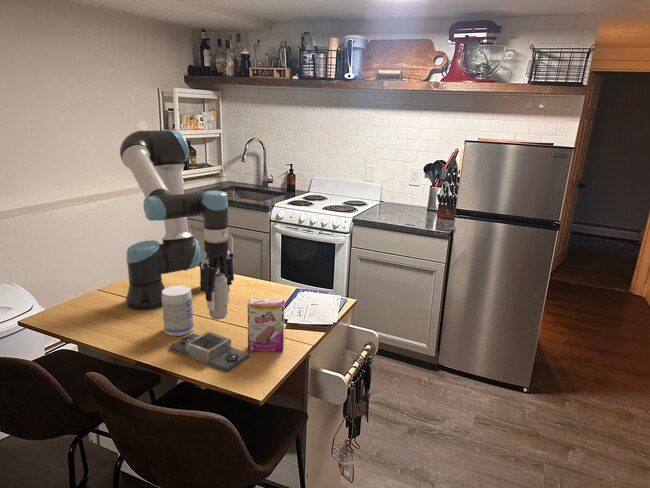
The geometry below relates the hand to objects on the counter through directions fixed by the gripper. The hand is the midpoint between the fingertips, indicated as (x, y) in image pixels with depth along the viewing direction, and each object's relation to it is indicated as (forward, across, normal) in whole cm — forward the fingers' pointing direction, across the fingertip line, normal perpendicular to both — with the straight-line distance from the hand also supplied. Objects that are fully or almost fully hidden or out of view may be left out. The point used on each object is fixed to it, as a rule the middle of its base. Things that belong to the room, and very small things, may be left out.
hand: (218, 305), depth 156 cm
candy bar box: (+9, -1, -21) cm, 23 cm away
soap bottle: (+11, +31, +29) cm, 44 cm away
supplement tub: (+10, -7, +11) cm, 17 cm away
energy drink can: (+4, 0, 0) cm, 4 cm away
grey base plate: (+9, -13, -8) cm, 18 cm away
